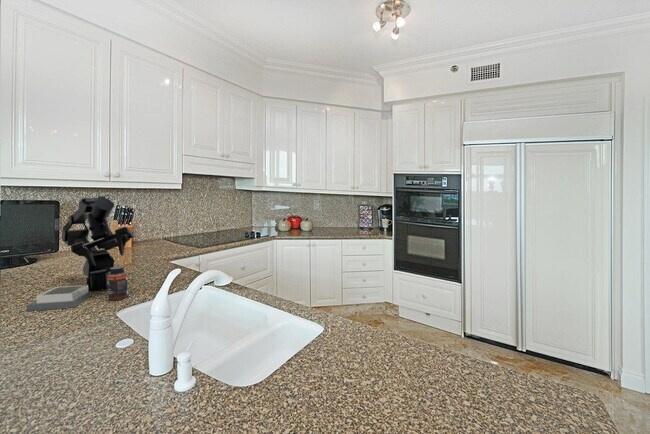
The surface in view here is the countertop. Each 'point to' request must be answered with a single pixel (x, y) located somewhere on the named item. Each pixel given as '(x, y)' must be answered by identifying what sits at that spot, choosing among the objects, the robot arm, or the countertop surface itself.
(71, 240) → the robot arm
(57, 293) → the plate
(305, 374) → the countertop surface
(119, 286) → the supplement bottle
